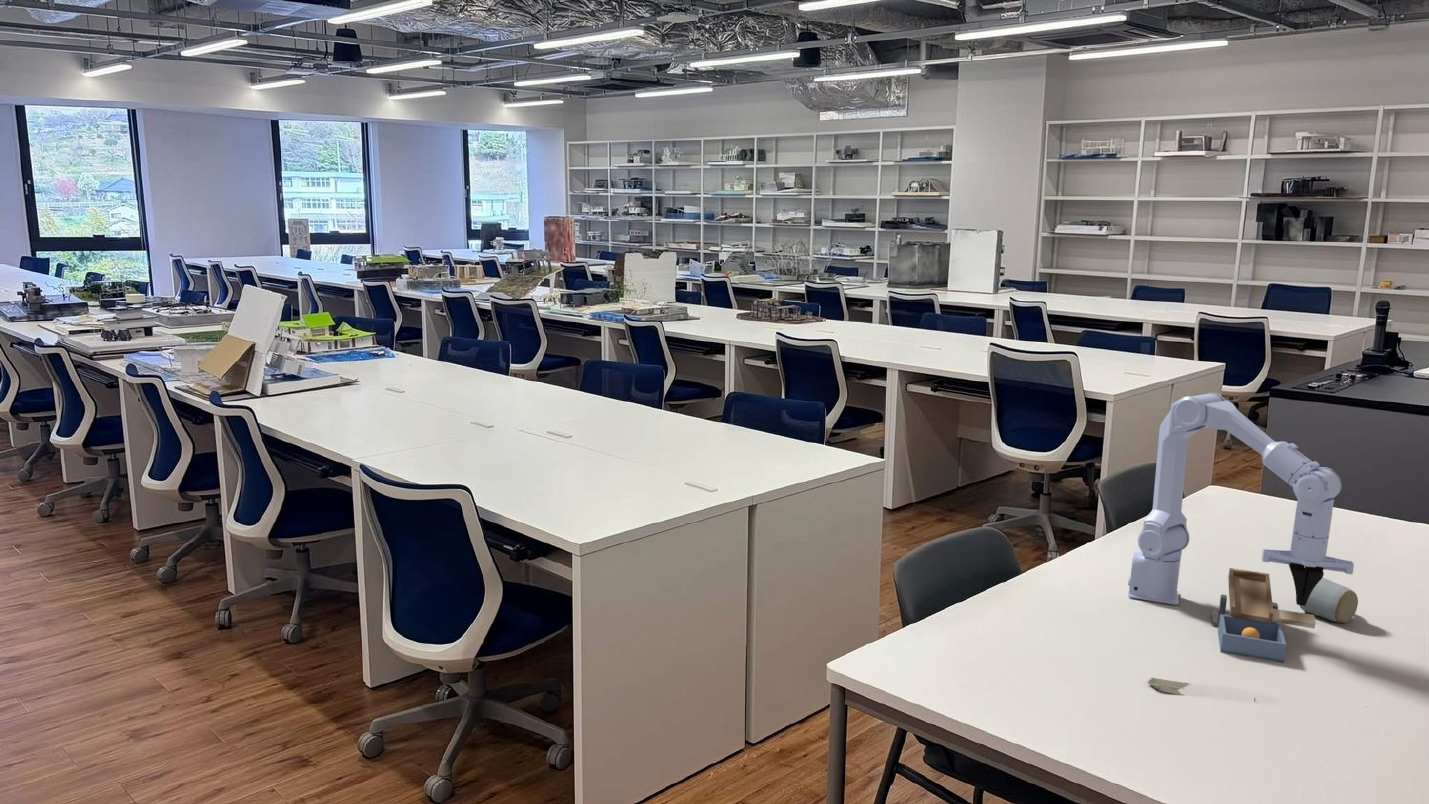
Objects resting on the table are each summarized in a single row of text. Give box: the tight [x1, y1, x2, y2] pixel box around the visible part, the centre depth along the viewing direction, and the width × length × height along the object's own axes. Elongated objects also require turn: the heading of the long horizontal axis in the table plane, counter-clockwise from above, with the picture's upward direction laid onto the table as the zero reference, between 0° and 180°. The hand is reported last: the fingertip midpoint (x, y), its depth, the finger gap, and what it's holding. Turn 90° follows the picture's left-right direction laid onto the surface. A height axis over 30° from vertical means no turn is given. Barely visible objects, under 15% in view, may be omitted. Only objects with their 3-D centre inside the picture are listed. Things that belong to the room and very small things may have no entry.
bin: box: [1217, 614, 1287, 663], centre depth 187 cm, size 10×10×4 cm
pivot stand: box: [1210, 593, 1281, 628], centre depth 196 cm, size 12×6×5 cm, turn 66°
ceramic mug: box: [1299, 576, 1359, 624], centre depth 202 cm, size 11×8×8 cm
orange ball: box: [1242, 627, 1260, 639], centre depth 188 cm, size 3×3×3 cm
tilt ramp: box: [1227, 567, 1316, 629], centre depth 194 cm, size 14×14×5 cm
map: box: [1146, 677, 1256, 702], centre depth 169 cm, size 5×20×1 cm, turn 79°
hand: (1300, 603), depth 188 cm, fingers closed
